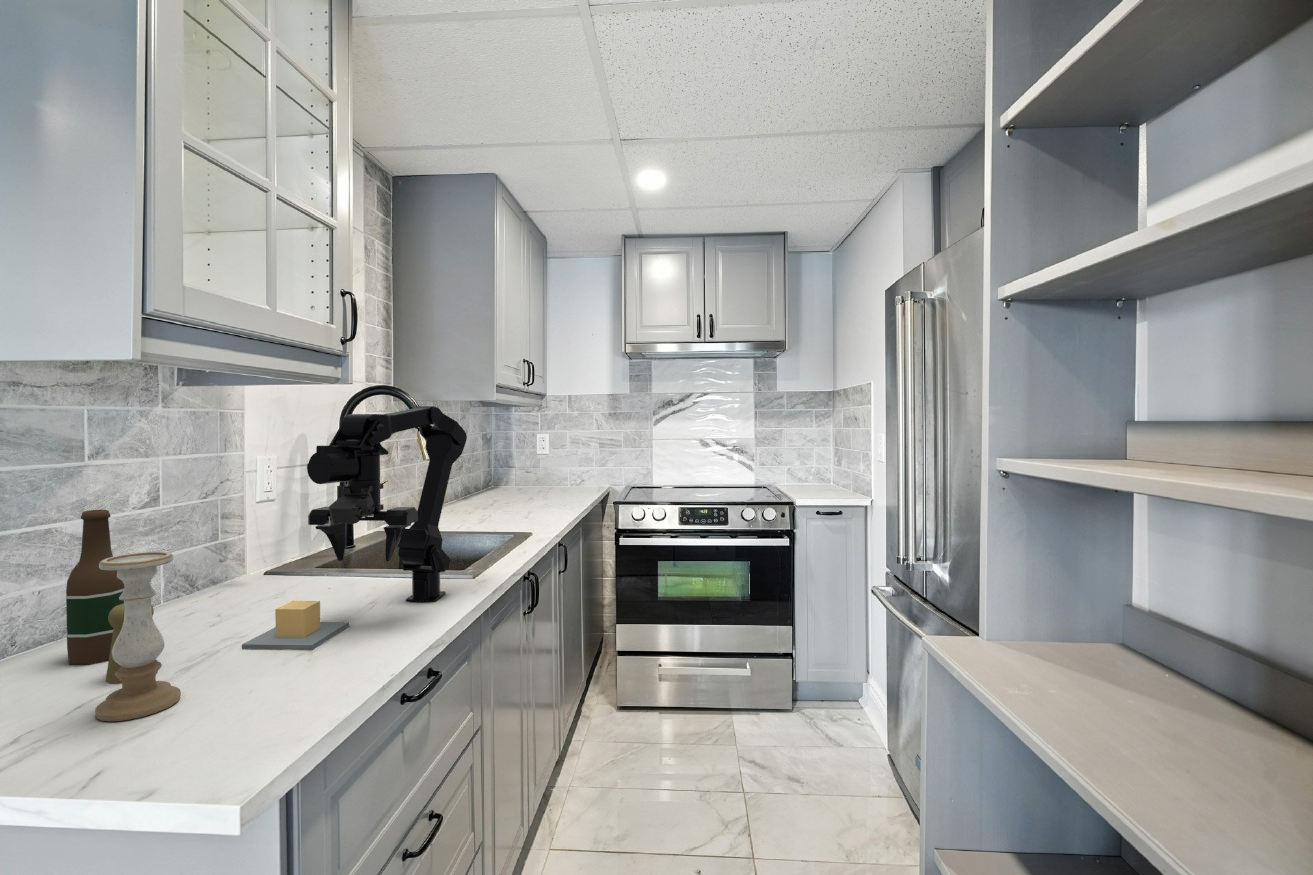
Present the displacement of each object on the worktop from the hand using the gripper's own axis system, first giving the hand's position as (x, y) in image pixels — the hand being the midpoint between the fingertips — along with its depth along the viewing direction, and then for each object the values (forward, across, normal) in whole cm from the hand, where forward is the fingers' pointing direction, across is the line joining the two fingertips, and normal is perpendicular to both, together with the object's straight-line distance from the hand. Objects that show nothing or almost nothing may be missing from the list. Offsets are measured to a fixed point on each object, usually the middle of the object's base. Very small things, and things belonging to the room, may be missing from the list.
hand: (364, 560), depth 116 cm
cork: (+12, -23, -25) cm, 36 cm away
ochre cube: (+11, -8, -8) cm, 16 cm away
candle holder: (+12, -13, -35) cm, 39 cm away
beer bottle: (+12, -35, -18) cm, 41 cm away
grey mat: (+12, -8, -8) cm, 16 cm away
